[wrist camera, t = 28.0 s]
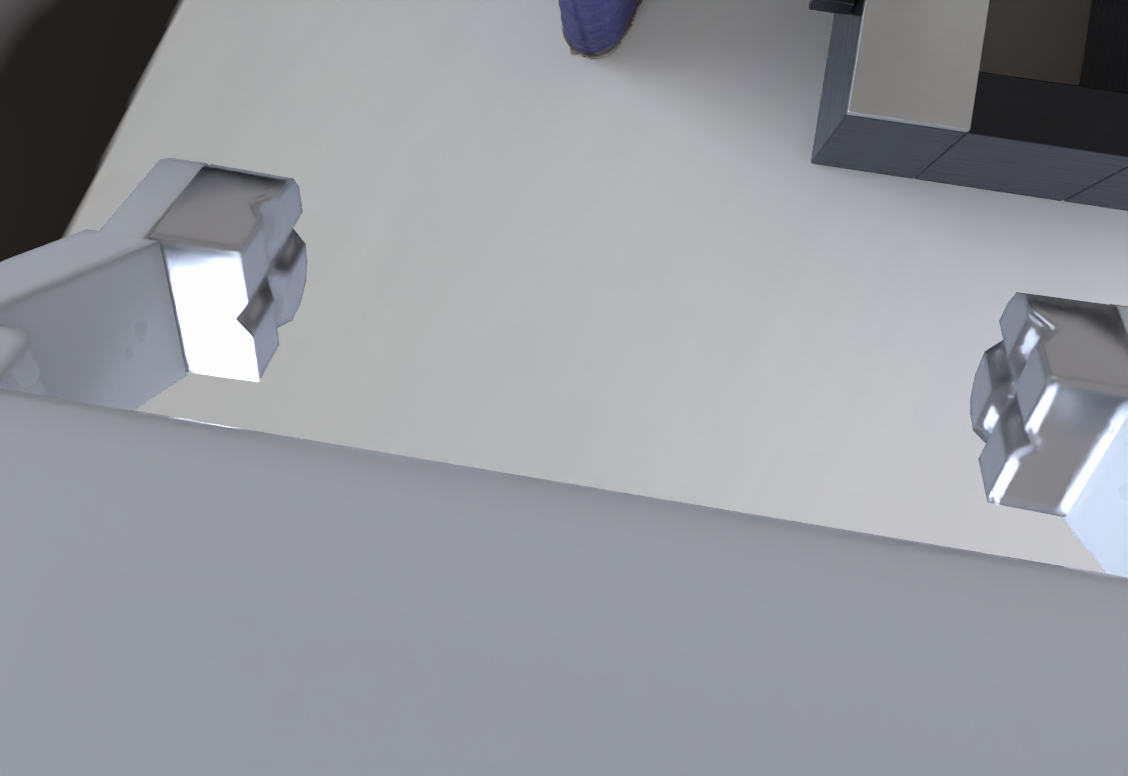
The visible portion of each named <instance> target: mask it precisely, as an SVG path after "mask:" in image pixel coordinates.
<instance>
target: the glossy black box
mask: <svg viewBox="0 0 1128 776" xmlns="http://www.w3.org/2000/svg"><path fill="white" fill-rule="evenodd" d="M989 3H990V0H810V4H809V9H810V10H817V11H824V12H831V13H834V20H833V26H832V32H831V39H830V45H829V51H828V58H827V64H826V70H825V77H824V83H823V89H822V96H821V102H820V108H819V115H818V121H817V127H816V134H815V140H814V146H813V153H812V159H811V163H813V164H820V165H827V166H833V167H840V168H846V169H853V170H860V171H866V172H873V173H880V174H886V175H893V176H900V177H906V178H914V177H915V179H920V180H926V181H933V182H940V183H946V184H953V185H960V186H966V187H973V188H979V189H986V190H993V191H999V192H1006V193H1013V194H1019V195H1026V196H1033V197H1039V198H1046V199H1052V200H1059V201H1062V200H1064V201H1067V202H1074V203H1080V204H1087V205H1094V206H1100V207H1107V208H1114V209H1120V210H1127V211H1128V0H1093V1H1092V8H1091V15H1090V21H1089V28H1088V35H1087V42H1086V48H1085V55H1084V62H1083V69H1082V75H1081V82H1080V86H1075V85H1068V84H1061V83H1054V82H1047V81H1040V80H1033V79H1026V78H1020V77H1013V76H1006V75H999V74H992V73H985V72H979V69H980V62H981V55H982V49H983V42H984V36H985V29H986V23H987V16H988V9H989Z"/></svg>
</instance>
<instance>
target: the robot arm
mask: <svg viewBox="0 0 1128 776" xmlns="http://www.w3.org/2000/svg"><path fill="white" fill-rule="evenodd" d="M301 214H302V204H301V196H300V189H299V186H298V185H297V183H296V182H295V180H294V179H292V178H287V177H281V176H275V175H270V174H264V173H258V172H253V171H247V170H241V169H236V168H230V167H224V166H219V165H213V164H211V165H208V164H206V163H202V162H195V161H189V160H182V159H175V158H166V159H161V160H159V161H158V162H157V163H156V165H155V166H154V167H153V168H152V169H151V171H150V172H149V173H148V174H147V175H146V177H145V178H144V179H143V180H142V181H141V182H140V184H139V185H138V186H137V187H136V188H135V190H134V191H133V192H132V193H131V194H130V196H129V197H128V198H127V199H126V200H125V202H124V203H123V204H122V205H121V206H120V207H119V209H118V210H117V211H116V212H115V213H114V215H113V216H112V217H111V218H110V219H109V221H108V222H107V223H106V224H105V225H104V227H103V228H102V229H101V230H100V231H94V230H88V229H86V230H84V231H81V232H78V233H76V234H73V235H70V236H68V237H65V238H63V239H60V240H58V241H55V242H52V243H49V244H47V245H44V246H41V247H39V248H36V249H33V250H31V251H28V252H26V253H23V254H20V255H18V256H15V257H12V258H9V259H7V260H4V261H2V262H0V776H1128V306H1120V305H1112V304H1109V305H1106V304H1099V303H1092V302H1084V301H1077V300H1070V299H1062V298H1055V297H1048V296H1040V295H1033V294H1026V293H1019V292H1016V294H1015V295H1014V296H1013V297H1012V299H1011V300H1010V301H1009V302H1008V304H1007V306H1006V308H1005V310H1004V312H1003V314H1002V316H1001V318H1000V320H999V322H1000V327H1001V331H1002V335H1003V341H1001V342H999V343H998V344H996V345H995V346H993V347H991V348H990V349H988V350H987V351H985V353H984V355H983V357H982V360H981V362H980V364H979V367H978V369H977V372H976V374H975V378H974V383H973V388H972V393H971V399H970V415H971V421H972V427H973V431H974V432H975V433H976V434H977V435H978V436H979V437H980V438H981V439H982V440H983V441H984V442H985V443H986V445H985V447H984V449H983V451H982V453H981V455H980V457H979V464H980V468H981V473H982V478H983V483H984V488H985V493H986V498H987V502H988V503H994V504H999V505H1004V506H1009V507H1015V508H1020V509H1025V510H1030V511H1036V512H1041V513H1046V514H1051V515H1057V516H1062V517H1065V518H1064V519H1063V520H1064V522H1065V523H1066V524H1067V525H1068V526H1069V528H1070V529H1071V530H1072V531H1073V532H1074V534H1075V535H1076V536H1077V537H1078V539H1079V540H1080V541H1081V542H1082V543H1083V545H1084V546H1085V547H1086V548H1087V549H1088V551H1089V552H1090V553H1091V554H1092V556H1093V557H1094V558H1095V559H1096V560H1097V562H1098V563H1099V564H1100V565H1101V566H1102V568H1103V569H1104V570H1105V571H1106V573H1107V574H1106V573H1100V572H1094V571H1088V570H1082V569H1076V568H1070V567H1064V566H1058V565H1052V564H1046V563H1040V562H1034V561H1028V560H1022V559H1017V558H1011V557H1005V556H999V555H993V554H987V553H981V552H975V551H969V550H963V549H957V548H951V547H945V546H939V545H933V544H927V543H921V542H915V541H909V540H903V539H897V538H891V537H885V536H879V535H873V534H867V533H861V532H855V531H849V530H843V529H837V528H831V527H825V526H819V525H813V524H807V523H801V522H795V521H789V520H783V519H777V518H771V517H765V516H759V515H754V514H748V513H742V512H736V511H730V510H724V509H718V508H712V507H706V506H700V505H694V504H688V503H682V502H676V501H670V500H664V499H658V498H652V497H646V496H640V495H634V494H628V493H622V492H616V491H610V490H604V489H598V488H592V487H586V486H581V485H575V484H569V483H563V482H557V481H551V480H545V479H539V478H533V477H527V476H521V475H515V474H509V473H503V472H497V471H491V470H485V469H479V468H473V467H467V466H461V465H455V464H449V463H443V462H437V461H431V460H425V459H420V458H414V457H408V456H402V455H396V454H390V453H384V452H378V451H372V450H366V449H360V448H354V447H348V446H342V445H336V444H330V443H324V442H318V441H312V440H306V439H300V438H294V437H288V436H282V435H276V434H270V433H265V432H259V431H253V430H247V429H241V428H235V427H229V426H223V425H217V424H211V423H205V422H199V421H193V420H187V419H181V418H175V417H169V416H163V415H157V414H151V413H145V412H139V411H133V410H135V409H136V408H138V407H139V406H141V405H142V404H144V403H145V402H147V401H148V400H150V399H152V398H153V397H155V396H156V395H158V394H159V393H161V392H162V391H164V390H165V389H167V388H168V387H170V386H171V385H173V384H174V383H176V382H178V381H179V380H181V379H182V378H184V377H185V376H186V375H187V374H186V372H191V373H198V374H205V375H213V376H220V377H227V378H234V379H242V380H249V381H256V382H259V381H260V379H261V377H262V375H263V373H264V372H265V370H266V368H267V366H268V364H269V362H270V361H271V359H272V357H273V355H274V353H275V351H276V350H277V348H278V346H279V340H278V331H277V328H278V327H280V326H282V325H284V324H286V323H288V322H290V321H292V320H293V318H294V316H295V314H296V312H297V310H298V308H299V306H300V303H301V299H302V295H303V291H304V287H305V283H306V272H307V255H306V244H305V243H304V241H303V240H302V239H301V238H300V236H299V235H298V234H297V233H296V231H295V230H294V229H293V227H294V226H295V224H296V222H297V220H298V219H299V217H300V215H301Z"/></svg>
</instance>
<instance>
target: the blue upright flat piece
mask: <svg viewBox="0 0 1128 776" xmlns="http://www.w3.org/2000/svg"><path fill="white" fill-rule="evenodd" d="M641 2H642V0H559V6H560V10H561V19H562V26H561V28H562V32H563V35H564V38H565V40H566V42H567V44H568V45H569V46H570V50H571V54H575V53H578V54H580V55H583V56H584V57H589V58H592V59H596V58H599V57H605V56H609V55H610V54H611V52H613V51H614V50H615V49H616V48H617V47H618V46H619V45H620V43H621V40H622V39H623V37H624V36H625V35H626V34H627V32H628V31H629V29H630V27H631V26H632V22H633V21H634V17H635V14H636V11H637V9H638V7H639V5H640V3H641Z"/></svg>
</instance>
